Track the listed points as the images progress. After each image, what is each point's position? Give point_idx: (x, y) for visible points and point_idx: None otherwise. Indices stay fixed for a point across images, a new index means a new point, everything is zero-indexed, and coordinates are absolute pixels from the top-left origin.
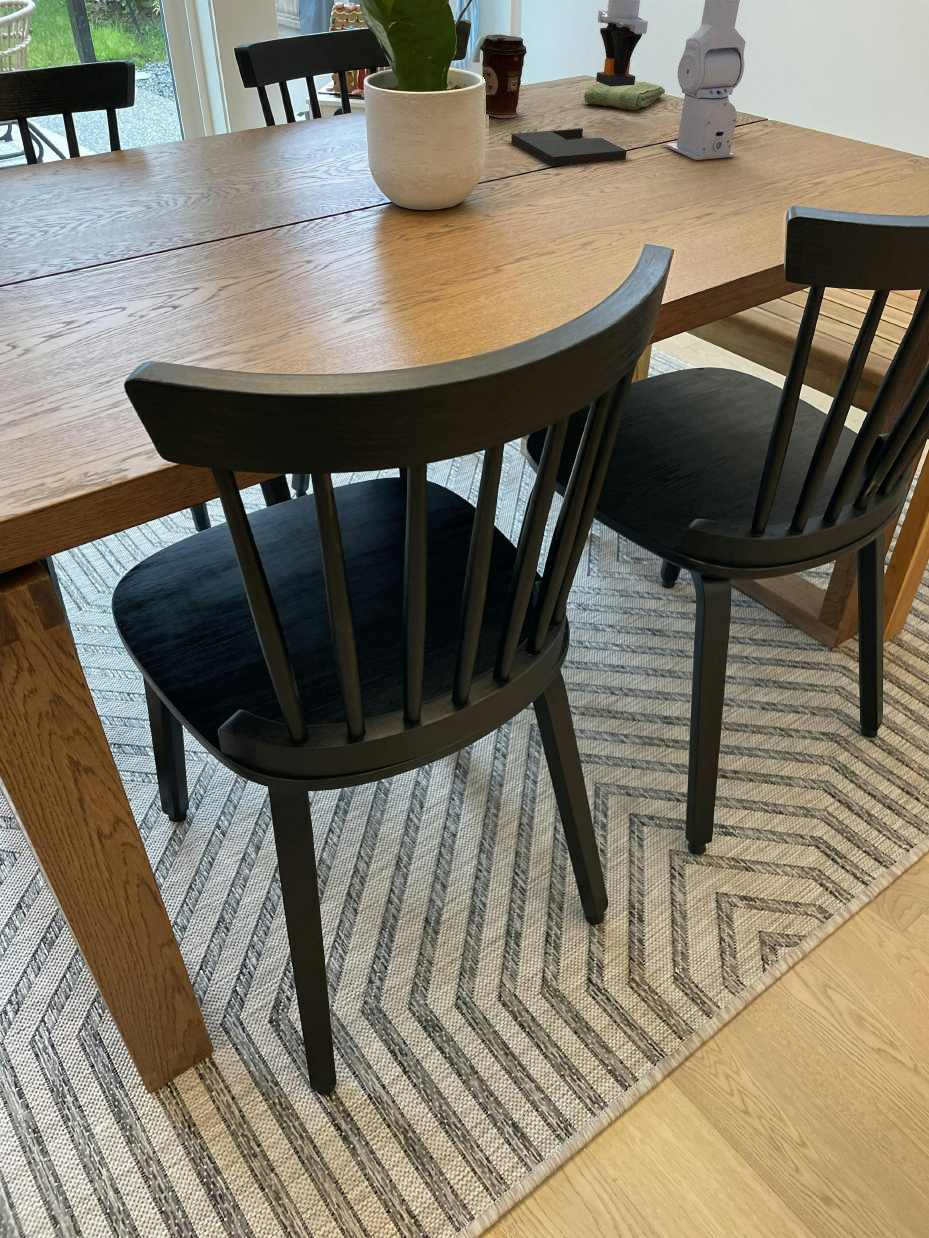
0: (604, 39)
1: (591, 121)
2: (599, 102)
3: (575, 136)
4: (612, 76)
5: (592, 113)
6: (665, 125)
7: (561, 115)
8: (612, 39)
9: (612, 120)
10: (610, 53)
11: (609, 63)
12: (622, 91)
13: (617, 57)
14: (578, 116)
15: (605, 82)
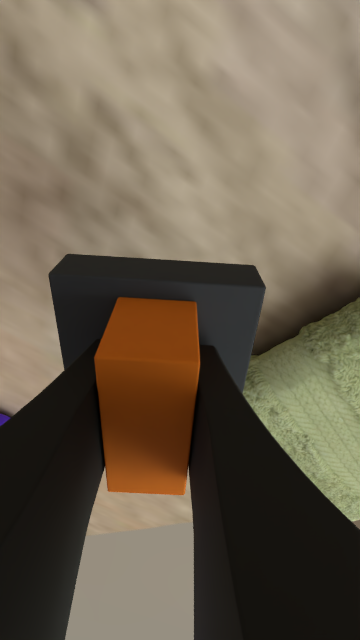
0: (315, 548)
1: (122, 135)
2: (325, 318)
3: None
4: (89, 308)
5: (254, 232)
6: (12, 366)
7: (296, 36)
8: (213, 598)
9: (116, 243)
10: (203, 439)
11: (112, 343)
12: (275, 402)
13: (23, 410)
14: (235, 129)
15: (126, 261)
